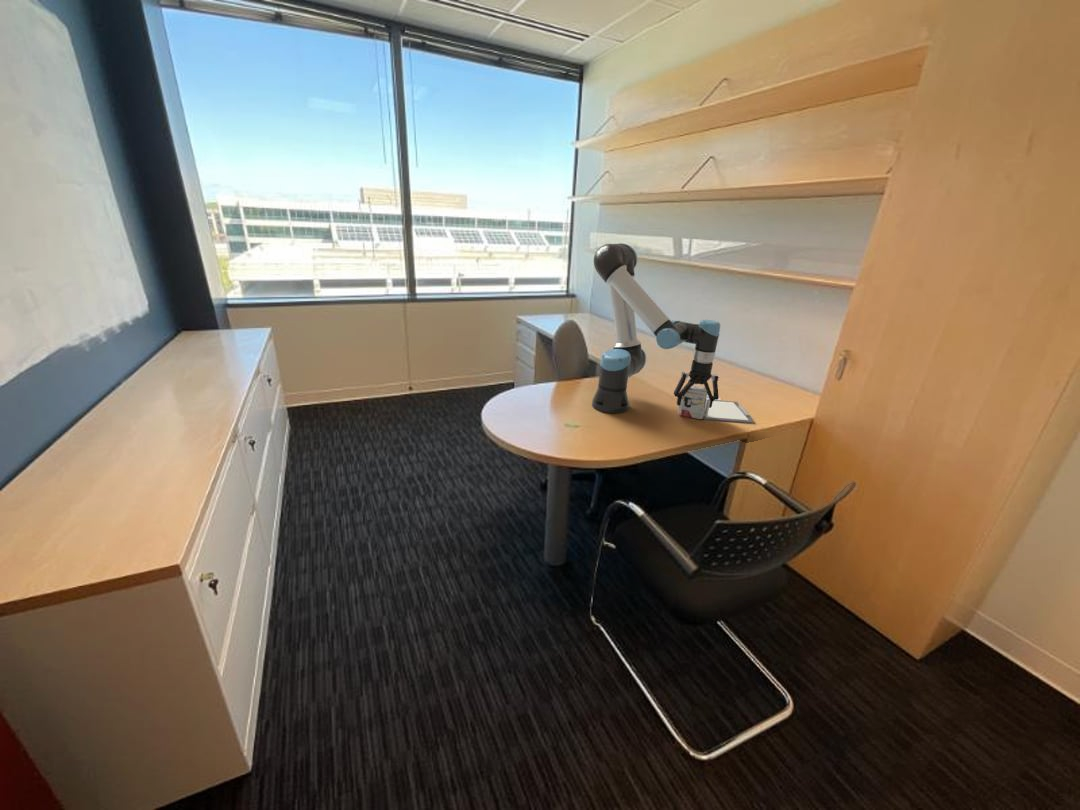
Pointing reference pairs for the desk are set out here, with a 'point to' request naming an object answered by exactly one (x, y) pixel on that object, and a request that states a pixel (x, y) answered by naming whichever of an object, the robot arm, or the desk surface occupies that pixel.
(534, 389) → the desk surface
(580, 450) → the desk surface
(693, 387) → the ink box
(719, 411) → the whiteboard
